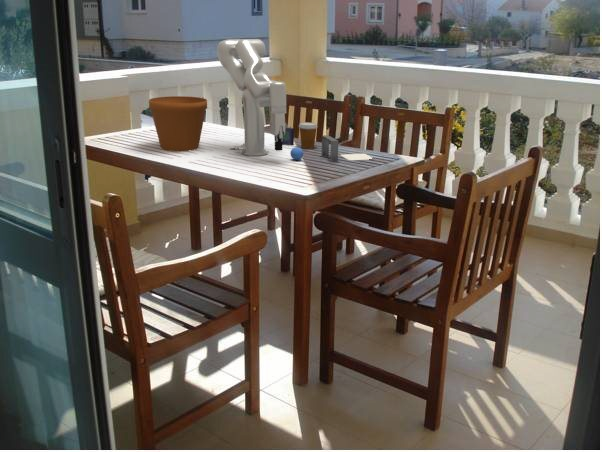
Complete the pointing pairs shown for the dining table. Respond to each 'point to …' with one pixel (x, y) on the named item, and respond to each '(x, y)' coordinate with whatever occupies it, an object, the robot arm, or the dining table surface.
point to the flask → (288, 136)
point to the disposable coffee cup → (307, 134)
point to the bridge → (334, 148)
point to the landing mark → (356, 157)
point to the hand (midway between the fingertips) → (278, 150)
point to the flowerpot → (178, 121)
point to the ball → (296, 153)
